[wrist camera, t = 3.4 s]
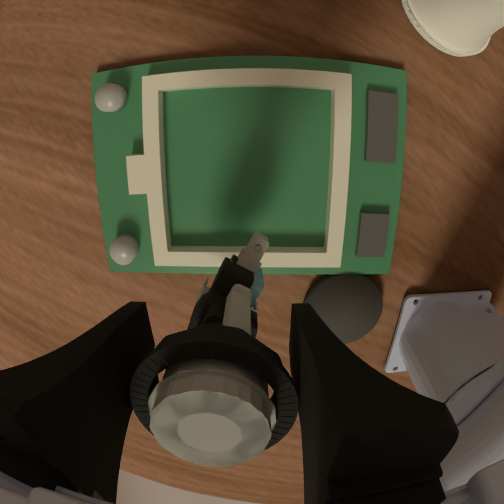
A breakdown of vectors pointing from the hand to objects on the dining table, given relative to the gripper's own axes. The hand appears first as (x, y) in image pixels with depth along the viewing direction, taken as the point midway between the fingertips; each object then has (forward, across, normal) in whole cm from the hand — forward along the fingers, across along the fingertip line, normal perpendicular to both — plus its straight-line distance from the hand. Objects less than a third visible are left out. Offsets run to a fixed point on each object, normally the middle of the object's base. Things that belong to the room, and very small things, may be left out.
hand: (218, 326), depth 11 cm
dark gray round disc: (+11, -8, +6) cm, 15 cm away
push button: (+6, 0, +2) cm, 6 cm away
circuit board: (+10, -1, -4) cm, 11 cm away
